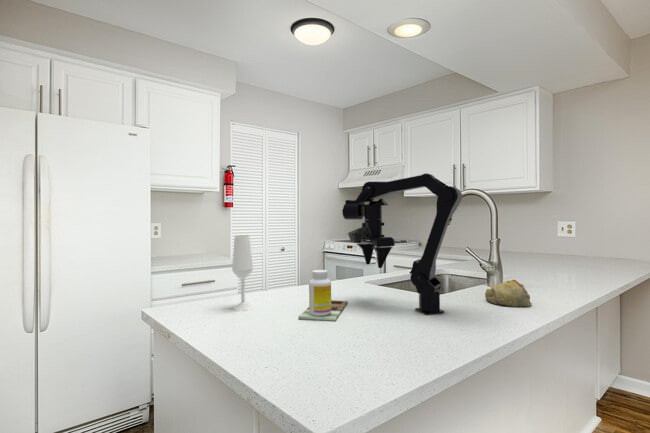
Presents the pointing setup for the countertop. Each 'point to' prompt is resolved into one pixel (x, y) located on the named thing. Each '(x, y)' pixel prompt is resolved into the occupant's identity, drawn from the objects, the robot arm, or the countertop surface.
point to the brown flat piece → (336, 311)
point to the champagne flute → (242, 266)
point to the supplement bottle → (320, 293)
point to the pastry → (509, 294)
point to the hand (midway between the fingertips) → (373, 266)
